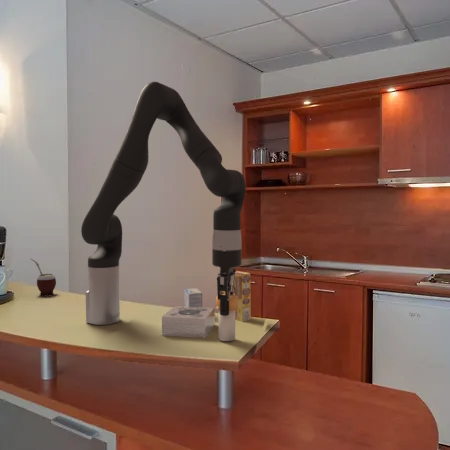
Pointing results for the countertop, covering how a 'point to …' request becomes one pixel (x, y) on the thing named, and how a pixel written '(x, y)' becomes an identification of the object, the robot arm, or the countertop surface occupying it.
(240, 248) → the robot arm
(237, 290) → the candy box
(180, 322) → the housing
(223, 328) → the orange-capped white cylinder
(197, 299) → the medicine box
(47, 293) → the mate gourd
